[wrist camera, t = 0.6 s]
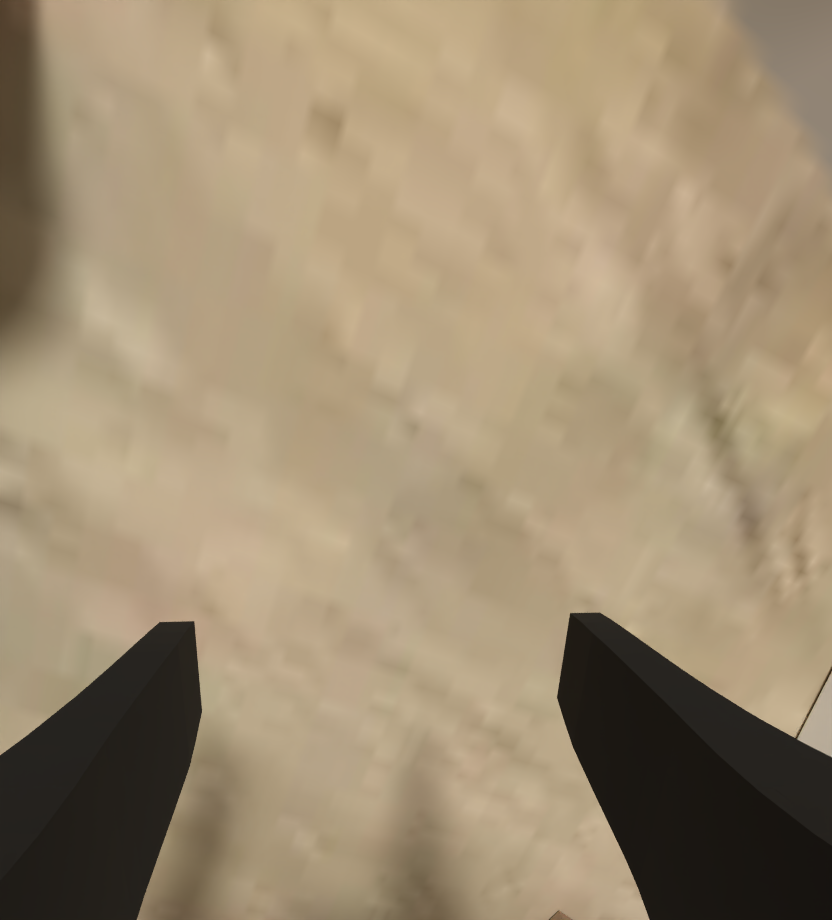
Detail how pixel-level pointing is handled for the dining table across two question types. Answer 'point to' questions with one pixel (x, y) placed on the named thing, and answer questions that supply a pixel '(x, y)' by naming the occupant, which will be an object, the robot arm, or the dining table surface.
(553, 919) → the holder
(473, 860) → the dining table surface
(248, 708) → the dining table surface
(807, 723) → the gable box
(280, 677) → the dining table surface
